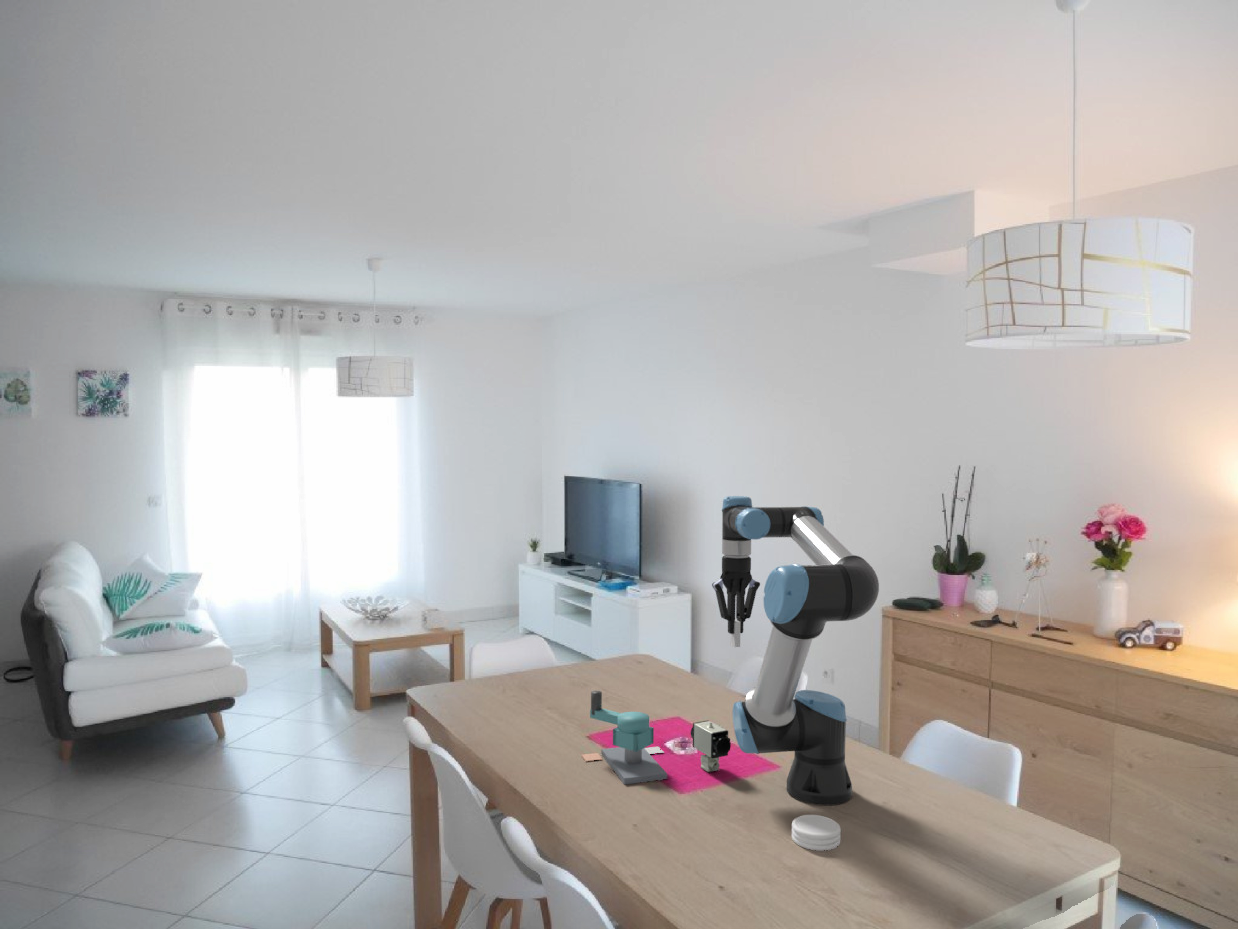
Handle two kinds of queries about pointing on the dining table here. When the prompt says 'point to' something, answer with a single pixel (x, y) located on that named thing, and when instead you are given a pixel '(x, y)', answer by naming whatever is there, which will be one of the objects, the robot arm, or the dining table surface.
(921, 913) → the dining table surface
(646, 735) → the crank handle
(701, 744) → the pneumatic valve
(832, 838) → the coaster
